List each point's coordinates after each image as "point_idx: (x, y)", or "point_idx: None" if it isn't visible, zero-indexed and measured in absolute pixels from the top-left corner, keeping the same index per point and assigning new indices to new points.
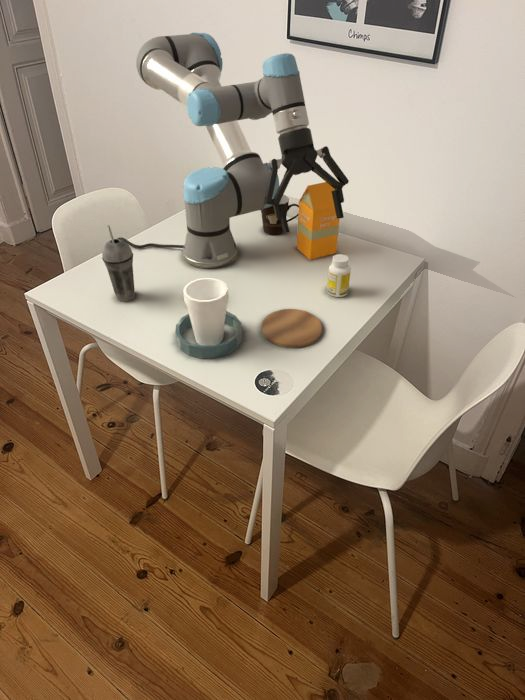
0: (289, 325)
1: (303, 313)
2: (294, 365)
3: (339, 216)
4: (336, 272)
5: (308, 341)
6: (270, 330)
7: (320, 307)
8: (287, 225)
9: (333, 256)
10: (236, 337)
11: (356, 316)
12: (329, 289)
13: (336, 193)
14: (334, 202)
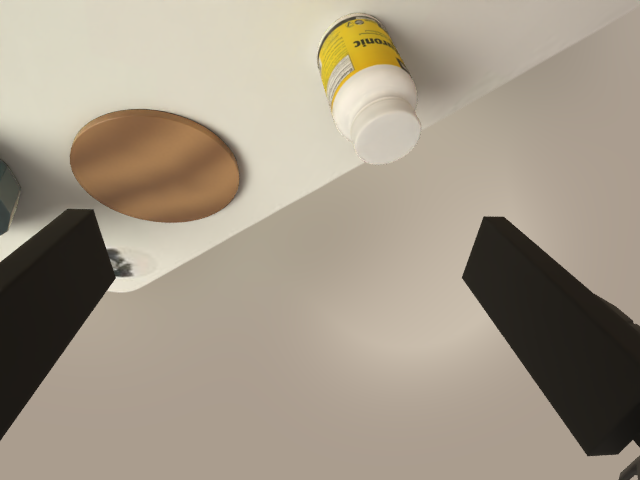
0: (155, 177)
1: (202, 143)
2: (161, 244)
3: (472, 269)
4: (345, 137)
5: (196, 218)
6: (101, 184)
7: (263, 112)
8: (89, 308)
9: (370, 123)
10: (7, 230)
11: (334, 160)
12: (320, 73)
13: (567, 423)
14: (549, 302)
